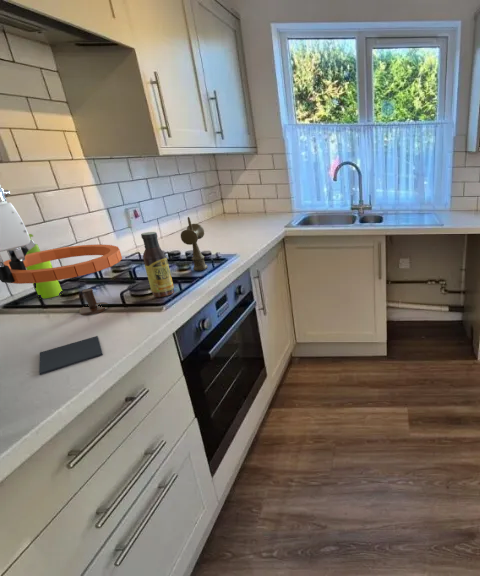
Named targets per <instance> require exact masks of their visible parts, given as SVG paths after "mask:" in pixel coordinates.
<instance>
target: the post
mask: <svg viewBox="0 0 480 576" xmlns="http://www.w3.org/2000/svg"><path fill="white" fill-rule="evenodd" d="M81 293H82V294H83V295H84V298H85V301H86V303H87V305H88V306H89V307H84V306H83V307H81V308H80V309H79V310H78V313H79V314H80V315H81V316H90V315H96V314H99V313H103V312H104V311H105V310H104V309H105V307H102V306H101V307H100V306H98V305H99V304H100V305H101V304H109V303H108V302H105V301H103V302H102V301H100V302H97V300H96V297H95V294H94V289H93V288H86V289H83V290H82V291H81Z"/></svg>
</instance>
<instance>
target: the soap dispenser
mask: <svg viewBox="0 0 480 576" xmlns="http://www.w3.org/2000/svg"><path fill="white" fill-rule="evenodd" d="M28 234H29V237H30V239H31V240H32V241H33V239H32V238H33V237H34V234H32V233H28ZM40 251H41V248H40V247H39V245H38V244H37V243H35V246H34V247H33V248H32V249H30V250H28V252H27V254H31V253H35V252H40ZM27 254H26V255H27ZM47 268H54V267H53V265H52V261H47V262H42V263H39V264H35V265H32V266H29V267H26V270H38V269H47ZM32 284H33V286H34V283H32ZM34 289H35V291H36V294H37V296H38V295H41V297H42V298H43V300H44V299H52V298H55V297H57V296H60V295H59V293H60V292H61V291H63V289H62V287H61V284H60V281H59V280H56V281H49V282H40V283H36V288H35V287H34Z"/></svg>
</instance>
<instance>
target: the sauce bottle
mask: <svg viewBox="0 0 480 576" xmlns="http://www.w3.org/2000/svg"><path fill="white" fill-rule="evenodd" d="M140 237H141V239H142V241H143V244H144V251H143V255H142V259H143V263H144V268H145V273H146V276H147V280H148V284H149V288H150V291H151V293H152V296H153V297H155V298H164V297H168V296H171V295H173V294H174V293H175V286H174V281H173V278H172V274H171V270H170V266H169V261H168V257H167V256H166V254H165V253H164V251H163V250H162V248H161V247H160V244H159V239H158V233H157V232H156V231H148V232H141V233H140Z"/></svg>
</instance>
